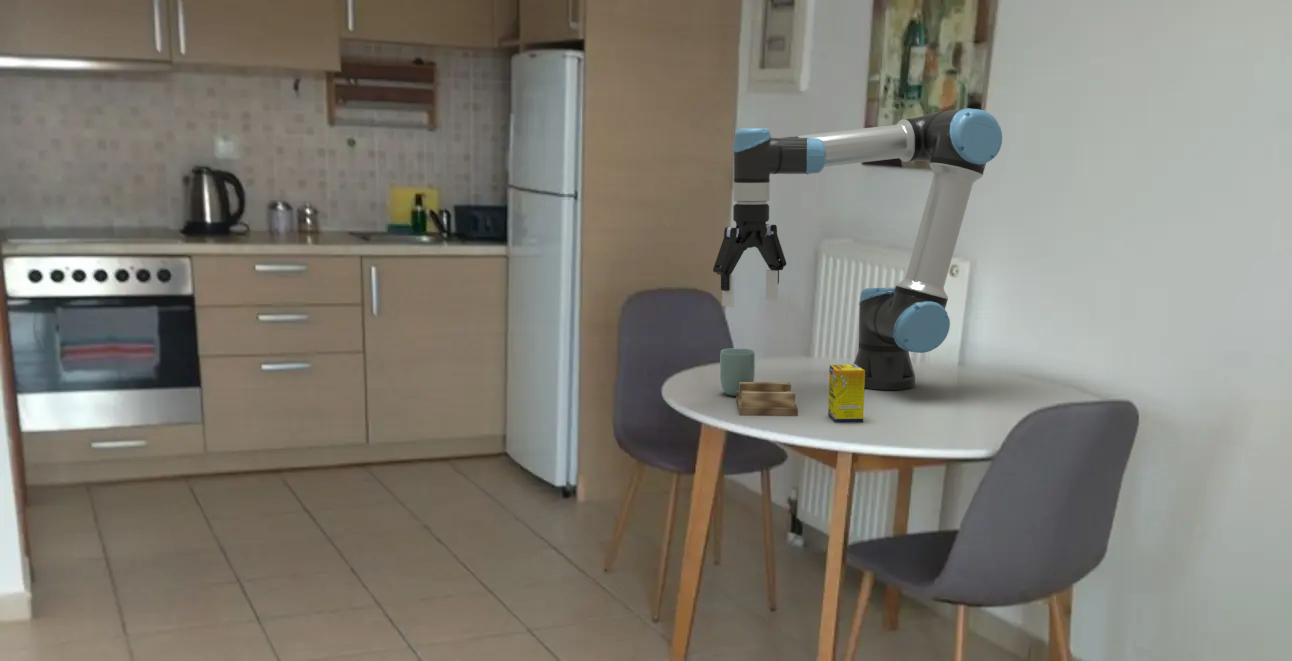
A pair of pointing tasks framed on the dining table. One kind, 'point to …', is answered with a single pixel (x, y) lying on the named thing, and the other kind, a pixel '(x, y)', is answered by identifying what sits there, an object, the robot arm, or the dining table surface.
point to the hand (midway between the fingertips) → (750, 303)
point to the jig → (766, 399)
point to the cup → (736, 368)
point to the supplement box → (846, 393)
